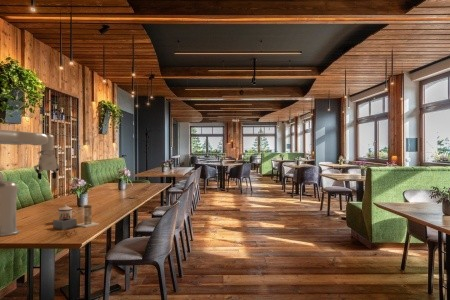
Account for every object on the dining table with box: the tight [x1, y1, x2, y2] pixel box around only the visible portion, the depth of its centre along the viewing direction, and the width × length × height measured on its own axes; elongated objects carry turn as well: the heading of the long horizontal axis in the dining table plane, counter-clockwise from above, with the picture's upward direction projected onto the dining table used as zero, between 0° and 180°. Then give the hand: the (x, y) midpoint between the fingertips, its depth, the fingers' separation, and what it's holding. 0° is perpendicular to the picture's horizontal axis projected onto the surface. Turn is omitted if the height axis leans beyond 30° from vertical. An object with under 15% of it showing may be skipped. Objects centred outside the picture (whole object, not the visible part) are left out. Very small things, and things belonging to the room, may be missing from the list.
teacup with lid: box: [57, 204, 78, 219], centre depth 249 cm, size 12×9×12 cm
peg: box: [83, 204, 93, 225], centre depth 237 cm, size 5×5×12 cm
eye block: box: [52, 218, 78, 231], centre depth 231 cm, size 10×10×5 cm
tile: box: [77, 221, 100, 228], centre depth 237 cm, size 10×10×1 cm
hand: (47, 178), depth 237 cm, fingers open, 9 cm apart
